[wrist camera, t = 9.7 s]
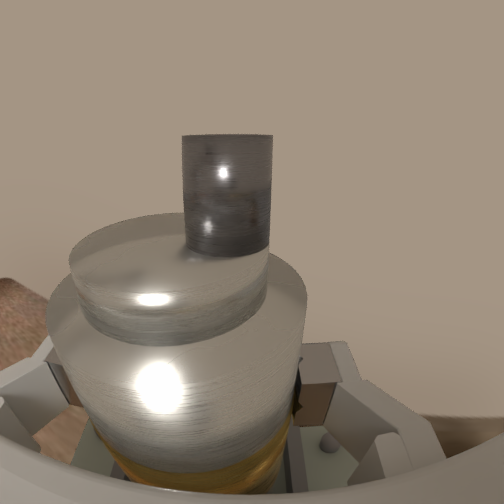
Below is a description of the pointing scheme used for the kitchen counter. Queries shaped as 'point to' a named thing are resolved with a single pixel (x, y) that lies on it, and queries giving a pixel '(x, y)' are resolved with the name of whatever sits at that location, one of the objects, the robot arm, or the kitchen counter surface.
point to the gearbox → (291, 470)
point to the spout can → (188, 329)
